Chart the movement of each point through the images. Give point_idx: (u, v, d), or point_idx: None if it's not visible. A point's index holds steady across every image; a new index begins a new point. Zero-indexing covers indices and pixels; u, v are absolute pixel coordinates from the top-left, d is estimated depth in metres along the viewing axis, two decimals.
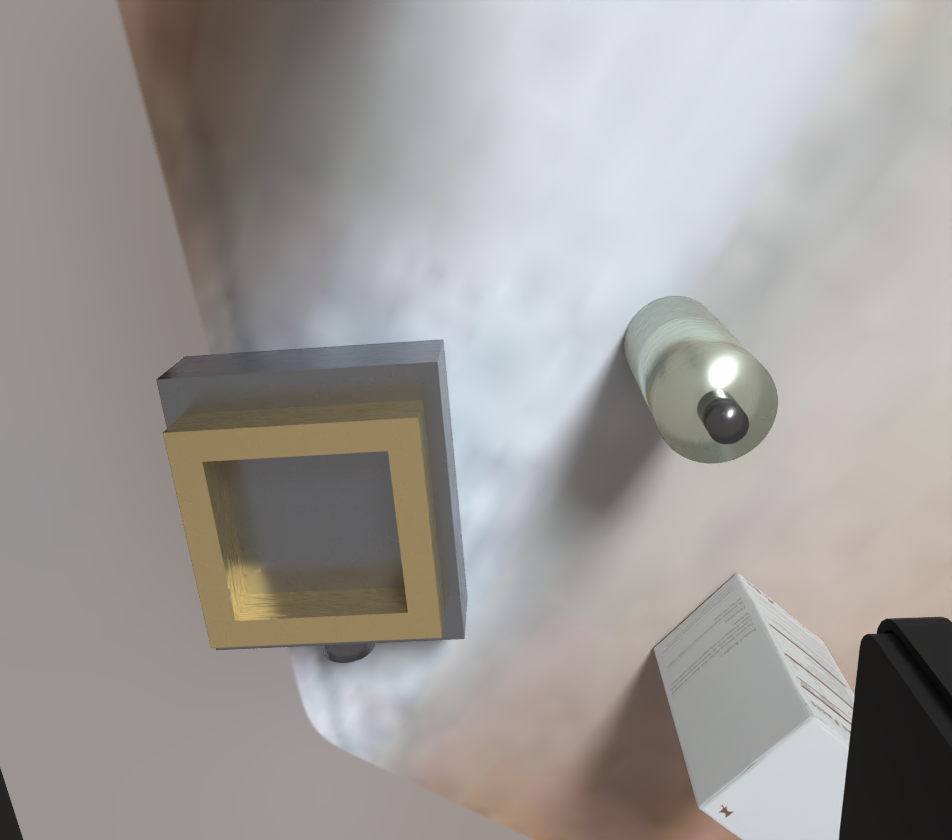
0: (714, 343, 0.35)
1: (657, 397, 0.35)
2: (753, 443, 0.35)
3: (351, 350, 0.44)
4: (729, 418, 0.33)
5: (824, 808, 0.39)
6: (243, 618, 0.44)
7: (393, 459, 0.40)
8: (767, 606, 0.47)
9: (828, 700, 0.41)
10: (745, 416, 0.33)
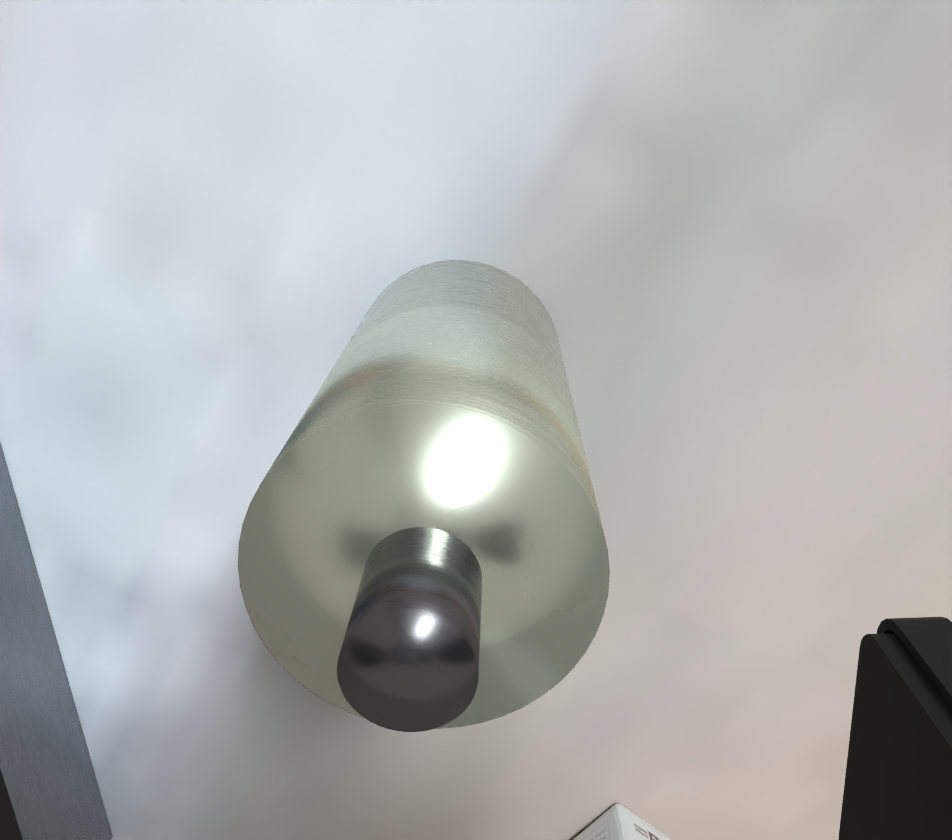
0: (419, 380, 0.11)
1: (241, 545, 0.11)
2: (544, 679, 0.12)
3: None
4: (407, 653, 0.09)
5: None
6: None
7: None
8: None
9: None
10: (463, 646, 0.09)
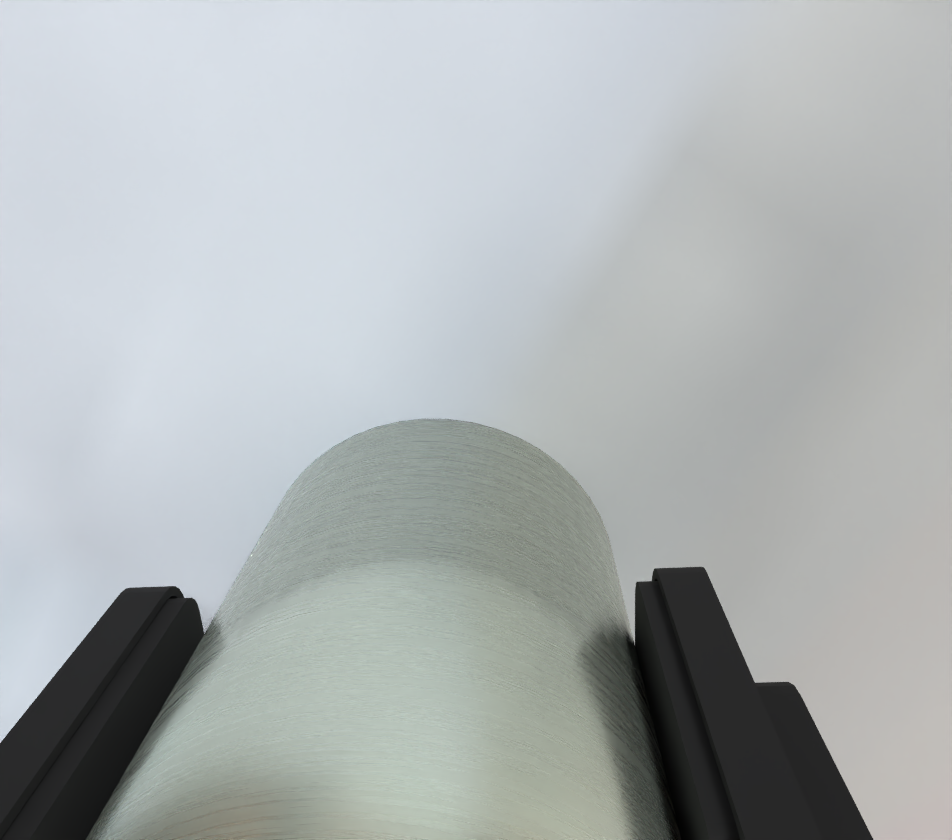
0: None
1: None
2: None
3: None
4: None
5: None
6: None
7: None
8: None
9: None
10: None
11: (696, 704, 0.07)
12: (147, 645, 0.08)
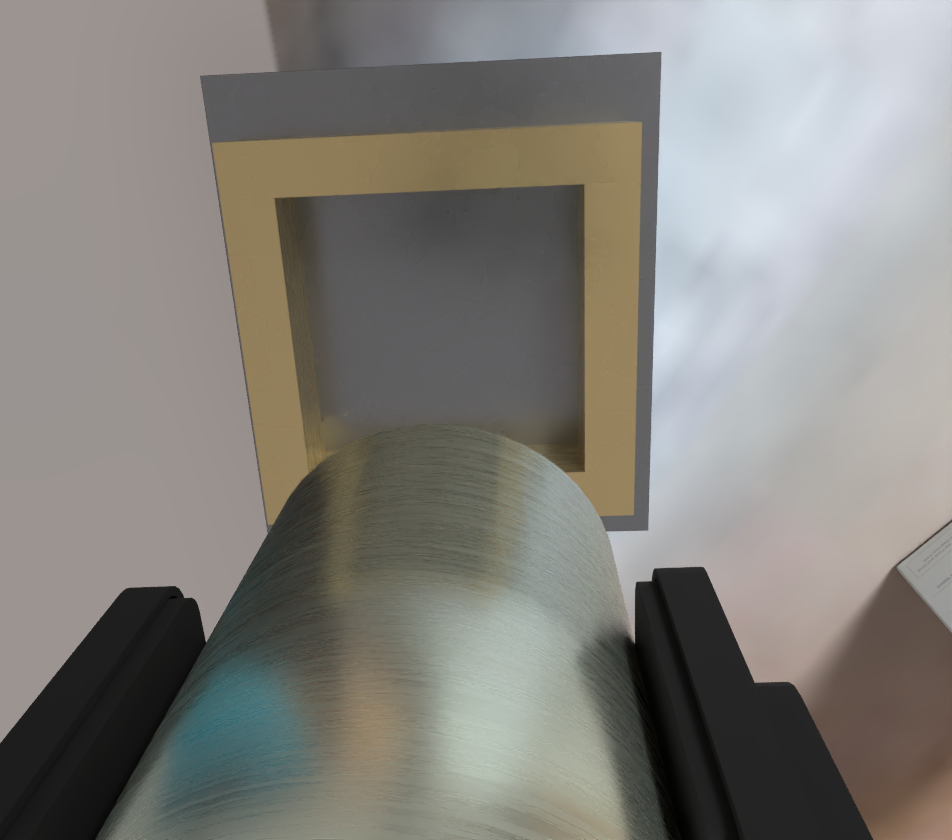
0: None
1: None
2: None
3: None
4: None
5: None
6: None
7: (592, 199, 0.24)
8: None
9: None
10: None
11: (696, 704, 0.07)
12: (147, 645, 0.08)
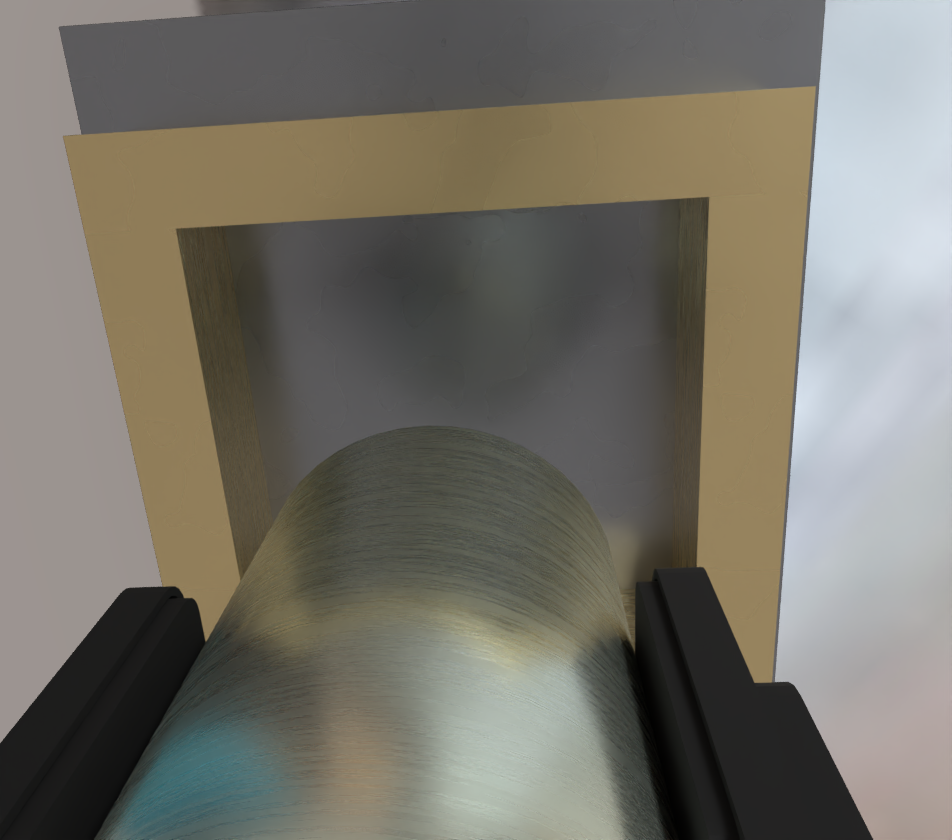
0: None
1: None
2: None
3: None
4: None
5: None
6: None
7: (721, 223, 0.14)
8: None
9: None
10: None
11: (696, 704, 0.07)
12: (147, 645, 0.08)
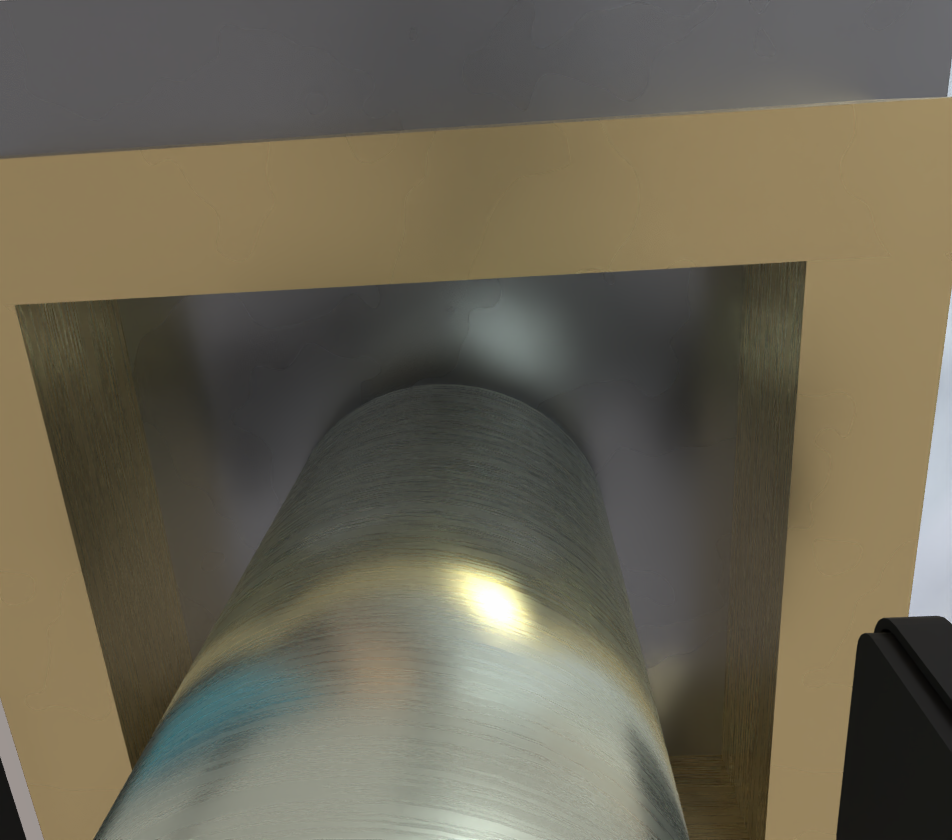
0: None
1: None
2: None
3: None
4: None
5: None
6: None
7: (824, 300, 0.09)
8: None
9: None
10: None
11: None
12: None
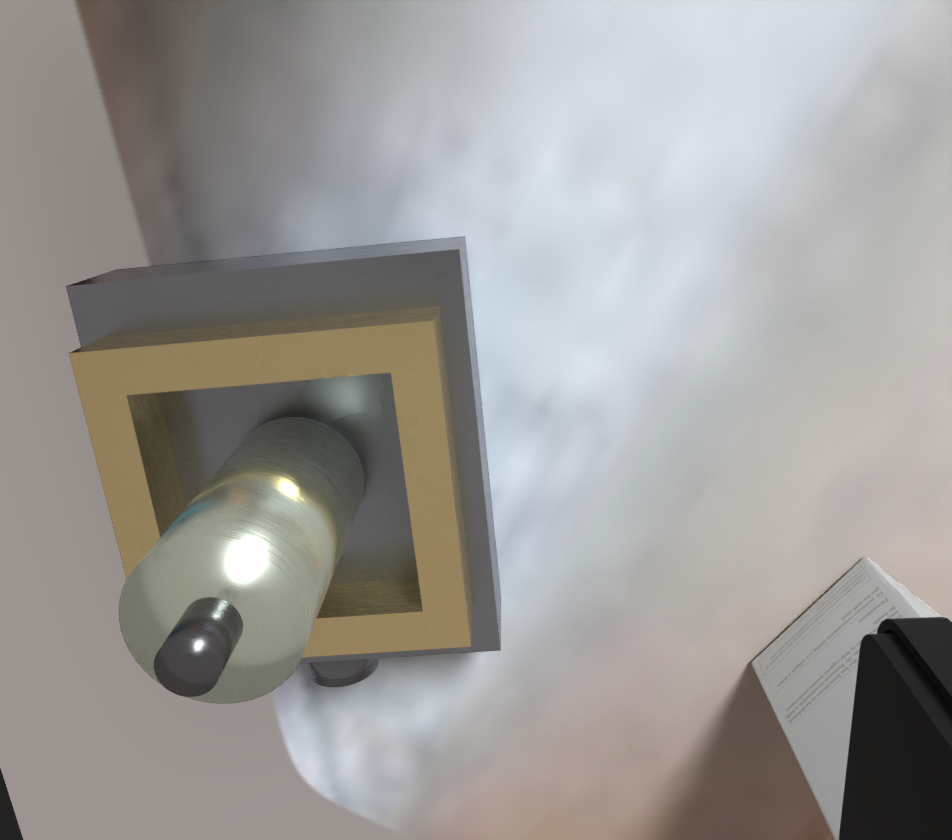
0: (210, 522, 0.22)
1: (120, 608, 0.22)
2: (281, 674, 0.23)
3: (339, 251, 0.32)
4: (185, 658, 0.20)
5: None
6: None
7: (399, 385, 0.28)
8: (914, 599, 0.34)
9: None
10: (210, 654, 0.20)
11: None
12: None
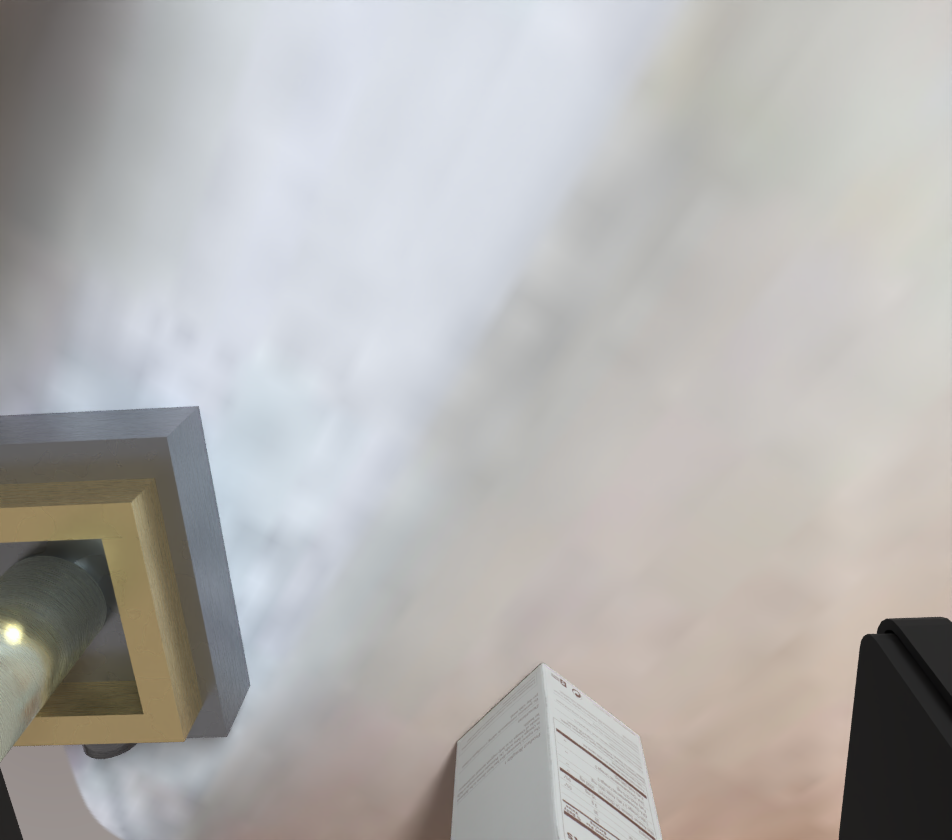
0: None
1: None
2: None
3: (91, 418, 0.39)
4: None
5: None
6: None
7: (108, 548, 0.35)
8: (567, 703, 0.42)
9: (601, 825, 0.36)
10: None
11: None
12: None
